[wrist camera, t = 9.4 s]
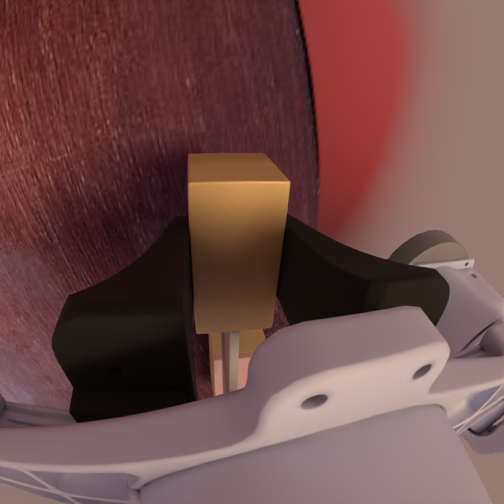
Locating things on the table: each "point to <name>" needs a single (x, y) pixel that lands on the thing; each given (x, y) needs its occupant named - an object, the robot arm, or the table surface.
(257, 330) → the light tan rectangular block
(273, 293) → the chisel
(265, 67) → the table surface
